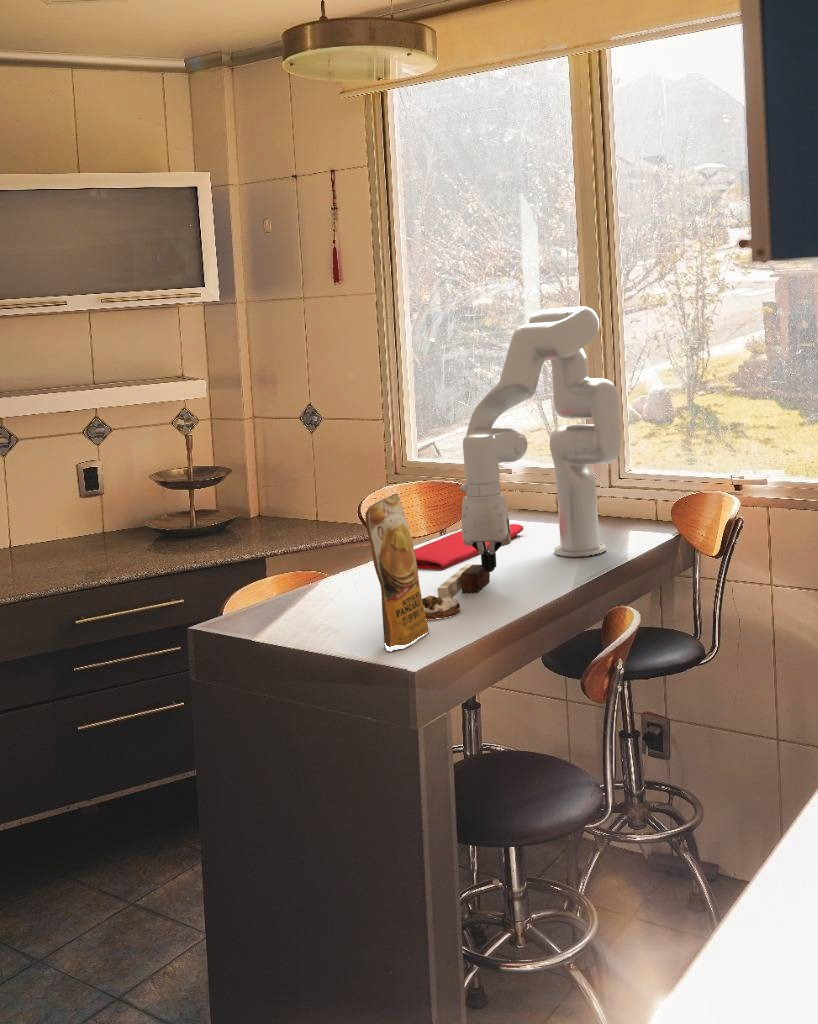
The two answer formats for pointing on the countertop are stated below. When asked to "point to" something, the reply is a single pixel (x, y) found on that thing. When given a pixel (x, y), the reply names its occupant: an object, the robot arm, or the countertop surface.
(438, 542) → the dish drying mat
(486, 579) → the brick
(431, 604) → the cream topped tart
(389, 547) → the pancake mix bag
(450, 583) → the beige long bar
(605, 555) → the countertop surface
